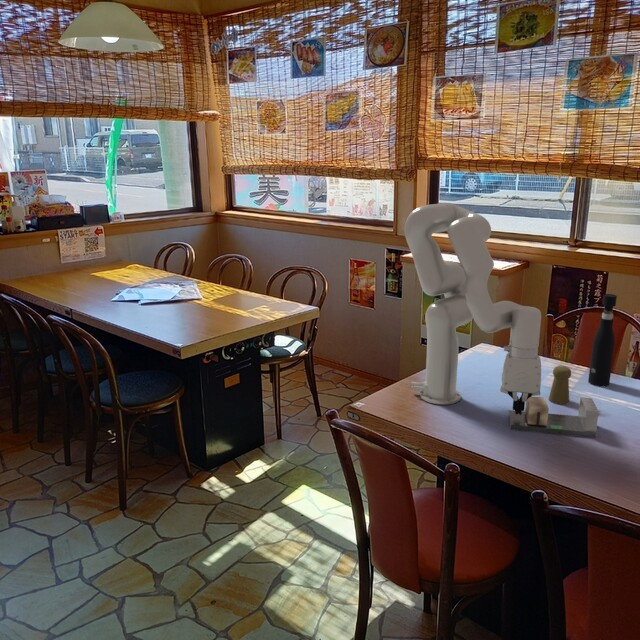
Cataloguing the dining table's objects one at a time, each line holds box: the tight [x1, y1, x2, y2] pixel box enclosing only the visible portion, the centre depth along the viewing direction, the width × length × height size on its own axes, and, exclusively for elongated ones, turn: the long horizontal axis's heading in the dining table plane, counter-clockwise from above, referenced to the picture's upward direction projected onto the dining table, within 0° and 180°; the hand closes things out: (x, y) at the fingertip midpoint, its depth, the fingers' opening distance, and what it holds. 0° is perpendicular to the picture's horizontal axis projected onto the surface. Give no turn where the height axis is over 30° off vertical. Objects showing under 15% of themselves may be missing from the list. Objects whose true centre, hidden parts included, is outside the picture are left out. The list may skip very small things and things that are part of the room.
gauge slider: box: [524, 396, 550, 426], centre depth 169 cm, size 5×9×5 cm, turn 167°
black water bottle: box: [587, 293, 618, 388], centre depth 196 cm, size 6×6×30 cm
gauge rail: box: [507, 397, 599, 438], centre depth 169 cm, size 22×10×8 cm, turn 77°
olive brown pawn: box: [548, 365, 572, 406], centre depth 185 cm, size 6×6×11 cm
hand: (518, 412), depth 171 cm, fingers closed
